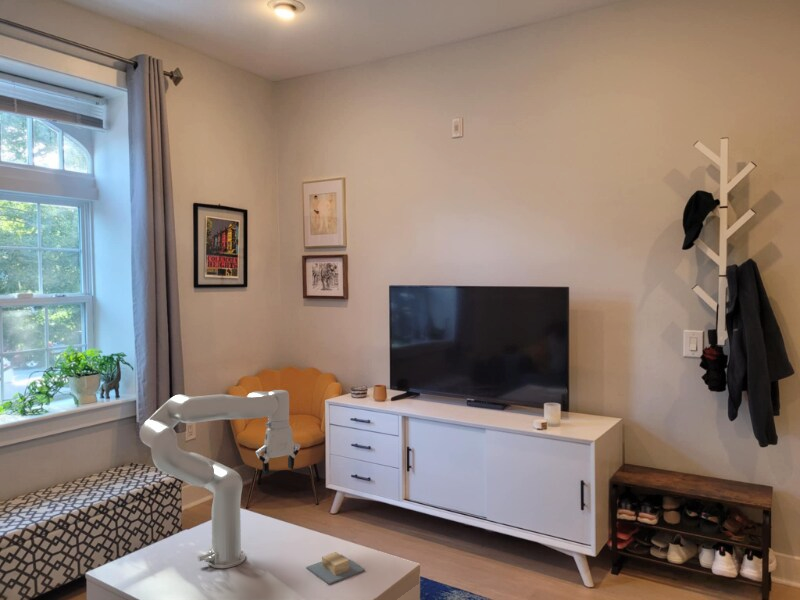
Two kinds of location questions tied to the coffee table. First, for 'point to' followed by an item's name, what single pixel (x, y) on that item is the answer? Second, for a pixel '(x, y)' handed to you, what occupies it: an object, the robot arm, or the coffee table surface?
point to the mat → (332, 578)
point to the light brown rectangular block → (335, 563)
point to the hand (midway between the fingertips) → (278, 470)
